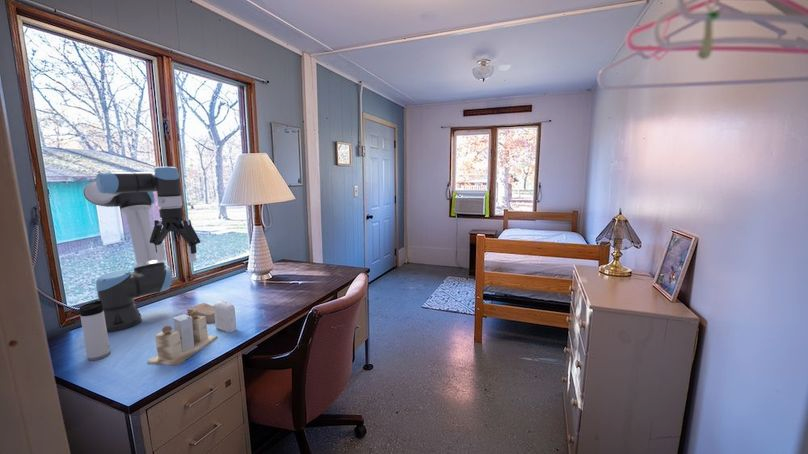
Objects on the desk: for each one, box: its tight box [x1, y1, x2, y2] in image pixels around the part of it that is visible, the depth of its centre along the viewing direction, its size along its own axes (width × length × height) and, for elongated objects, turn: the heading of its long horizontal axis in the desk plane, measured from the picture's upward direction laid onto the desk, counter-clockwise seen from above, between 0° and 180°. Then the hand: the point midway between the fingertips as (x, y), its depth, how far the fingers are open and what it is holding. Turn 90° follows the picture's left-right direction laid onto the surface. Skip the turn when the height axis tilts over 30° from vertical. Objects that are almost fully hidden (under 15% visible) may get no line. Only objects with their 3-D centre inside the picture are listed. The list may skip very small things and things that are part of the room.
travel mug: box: [78, 300, 111, 361], centre depth 123 cm, size 6×7×20 cm
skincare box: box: [172, 313, 194, 352], centre depth 127 cm, size 6×4×12 cm
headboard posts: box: [146, 311, 218, 366], centre depth 127 cm, size 12×20×13 cm, turn 171°
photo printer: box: [213, 300, 237, 333], centre depth 144 cm, size 10×4×12 cm, turn 60°
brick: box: [186, 302, 215, 324], centre depth 157 cm, size 17×8×5 cm, turn 64°
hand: (177, 261), depth 134 cm, fingers open, 13 cm apart
